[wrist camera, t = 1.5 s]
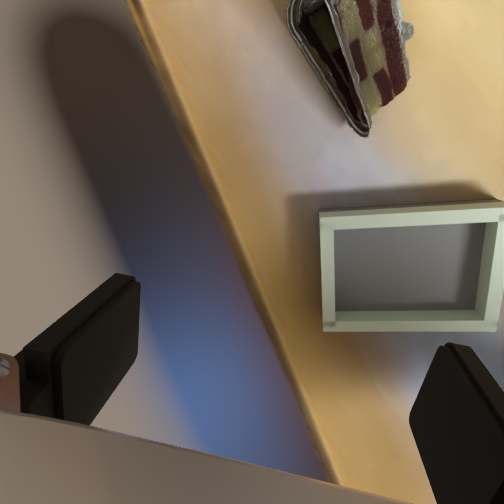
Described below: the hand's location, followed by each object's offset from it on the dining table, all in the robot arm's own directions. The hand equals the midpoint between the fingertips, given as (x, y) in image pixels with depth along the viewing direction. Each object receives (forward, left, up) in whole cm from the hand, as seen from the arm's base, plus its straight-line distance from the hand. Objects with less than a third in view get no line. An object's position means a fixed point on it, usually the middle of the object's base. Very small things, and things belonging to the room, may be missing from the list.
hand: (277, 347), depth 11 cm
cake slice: (-7, -8, -27) cm, 29 cm away
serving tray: (-10, +8, -25) cm, 28 cm away
